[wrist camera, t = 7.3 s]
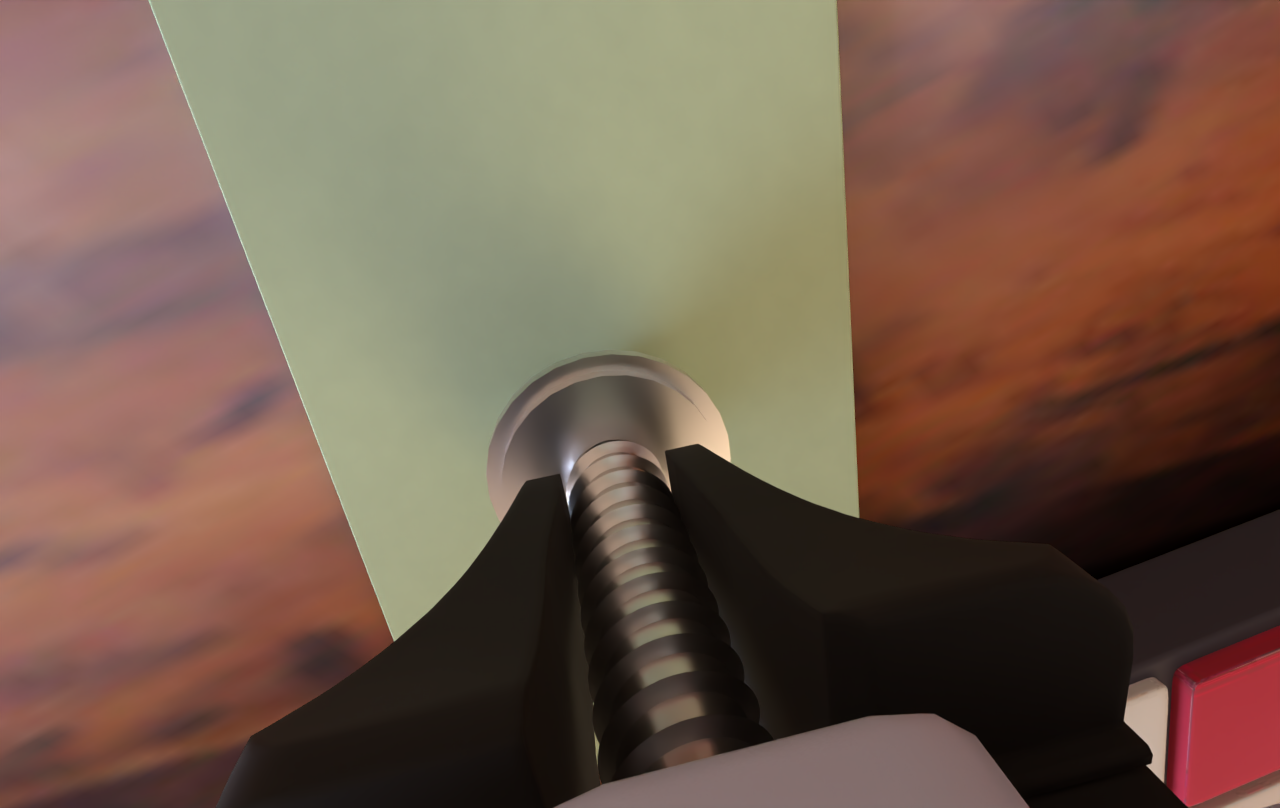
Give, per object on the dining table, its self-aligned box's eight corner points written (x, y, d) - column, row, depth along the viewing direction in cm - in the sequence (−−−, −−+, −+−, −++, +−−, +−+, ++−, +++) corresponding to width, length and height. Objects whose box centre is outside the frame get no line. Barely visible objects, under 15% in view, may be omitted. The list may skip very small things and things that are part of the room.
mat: (858, 681, 20) (867, 697, 20) (456, 783, 19) (454, 802, 19) (818, -132, 13) (832, -144, 12) (149, -33, 12) (130, -42, 11)
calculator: (1472, 814, 21) (1044, 1005, 20) (1318, 709, 25) (952, 863, 24) (1565, 527, 17) (1030, 746, 16) (1362, 456, 21) (920, 626, 20)
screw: (691, 307, 15) (715, 500, 16) (467, 349, 14) (517, 542, 16) (1433, 1053, 3) (1218, 1453, 5) (159, 1461, 2) (495, 1721, 4)
